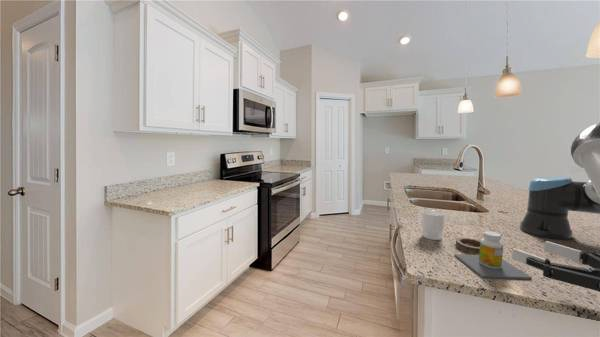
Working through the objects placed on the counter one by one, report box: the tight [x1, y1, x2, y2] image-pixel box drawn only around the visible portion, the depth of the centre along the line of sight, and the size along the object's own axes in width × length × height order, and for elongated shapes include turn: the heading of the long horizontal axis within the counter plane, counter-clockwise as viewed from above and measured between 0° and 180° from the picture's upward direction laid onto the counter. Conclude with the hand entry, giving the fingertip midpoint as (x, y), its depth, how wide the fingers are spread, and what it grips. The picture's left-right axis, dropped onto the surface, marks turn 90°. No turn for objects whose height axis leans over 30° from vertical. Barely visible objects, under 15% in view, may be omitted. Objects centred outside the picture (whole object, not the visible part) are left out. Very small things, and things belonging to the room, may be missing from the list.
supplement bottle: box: [478, 230, 504, 269], centre depth 71 cm, size 5×5×10 cm
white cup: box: [421, 209, 446, 241], centre depth 94 cm, size 8×8×10 cm
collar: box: [455, 237, 481, 255], centre depth 84 cm, size 9×9×2 cm
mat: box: [454, 253, 533, 280], centre depth 71 cm, size 13×13×1 cm
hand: (529, 249), depth 62 cm, fingers open, 13 cm apart
